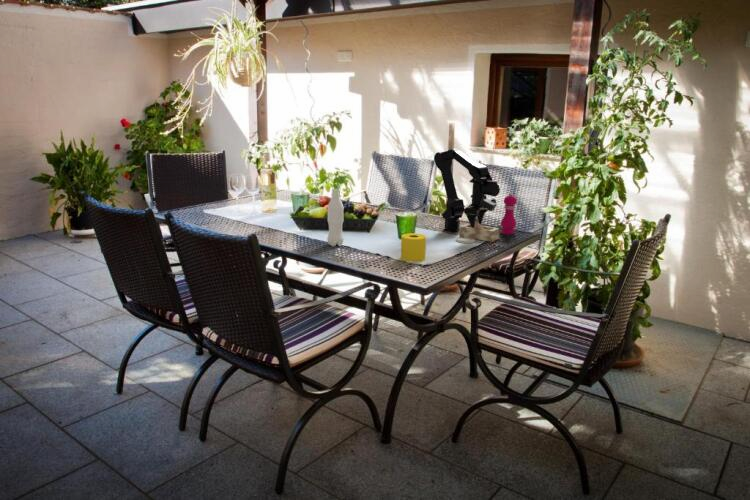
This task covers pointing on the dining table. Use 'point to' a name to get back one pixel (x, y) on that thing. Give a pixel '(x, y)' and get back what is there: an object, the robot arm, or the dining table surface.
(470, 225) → the terracotta block
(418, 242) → the yellow hollow cylinder
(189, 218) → the dining table surface
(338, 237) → the water bottle
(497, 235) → the beech pocket board
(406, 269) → the dining table surface
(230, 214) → the dining table surface
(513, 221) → the pepper mill
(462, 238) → the felt coaster
